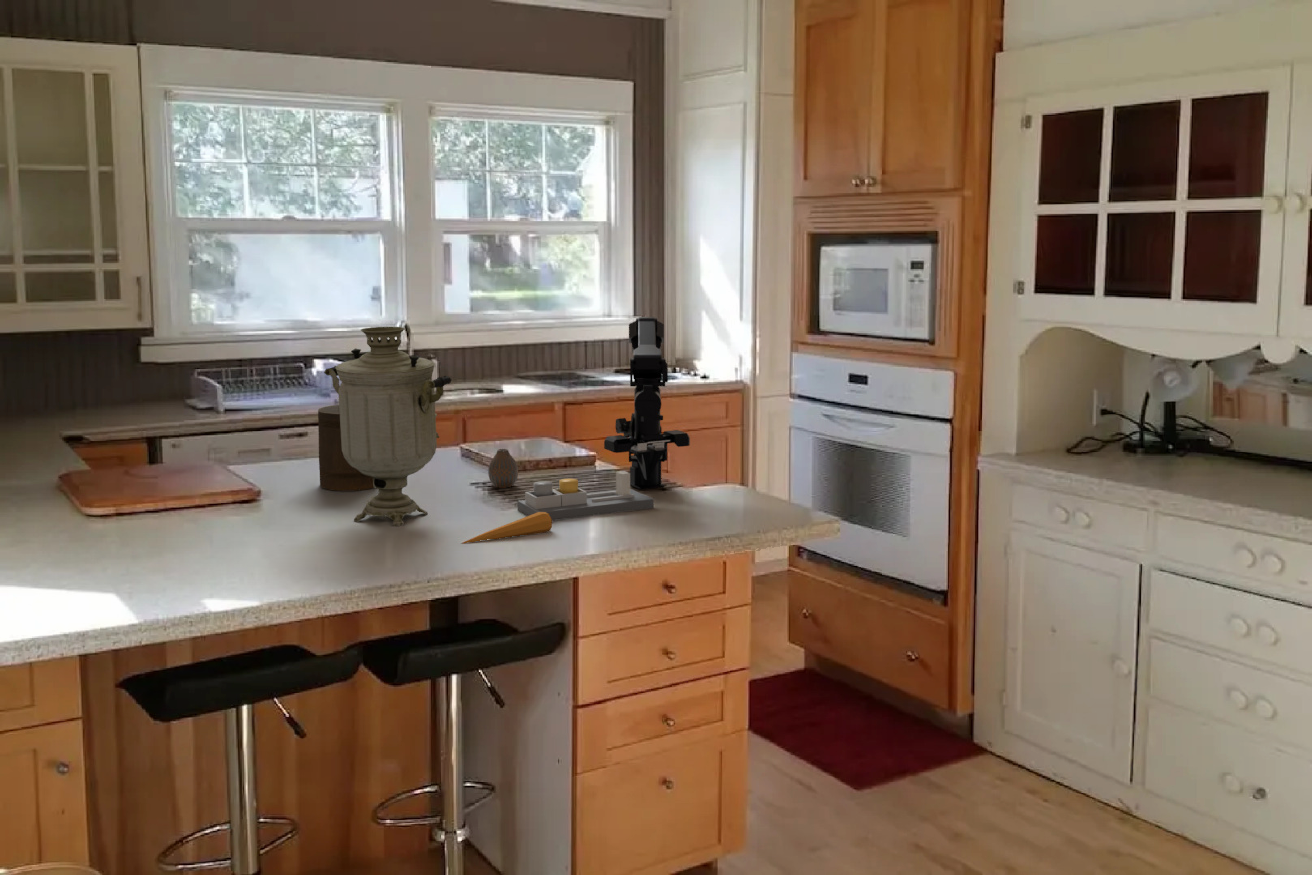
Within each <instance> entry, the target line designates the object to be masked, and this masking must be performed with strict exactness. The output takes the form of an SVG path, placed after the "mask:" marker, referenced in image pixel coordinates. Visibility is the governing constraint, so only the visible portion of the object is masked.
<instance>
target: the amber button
mask: <svg viewBox="0 0 1312 875" xmlns="http://www.w3.org/2000/svg"><path fill="white" fill-rule="evenodd" d="M558 483H559V485H558V486H559V487H558V488H560V493H562V494H568V493H577V492H578V488H579V480H578V479H576V478H562V479H559V482H558Z"/></svg>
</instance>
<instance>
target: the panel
mask: <svg viewBox="0 0 1312 875" xmlns="http://www.w3.org/2000/svg"><path fill="white" fill-rule="evenodd" d="M524 494H525V495H524V496H525V499H521V500H517V511H519V512H521V513H522V514H524V515H526V516H529V515H532V514H535V513H537V512H546V513H548V514H549V515H550V517H551V518H552V521H558V520H565V519H566V520H567V519H574V518H582V517H583V518H584V517H588V516H589V517H590V516H599V515H600V516H601V515H608V514H609V515H610V514H616V513H622V512H623V513H624V512H631V511H640V510H641V511H642V510H647V509H648V510H650V509H654V506H655V503H654V502H655V501H654V500H655V499H654V498H652V497H650V496H648V495H646V494H643V493H641V492H639V491H637V490H634V489H632V488H630V494H629V495H617V494H616V489H612V490H609V489H607V490H600V491H593V492H587V491H586V490H584V489H581V488H579V487H578V492H577V493H568V494H562V493H560V488H559V487H557V488H552V495H550V496H541V497H536V496H534V490H532V491H525V492H524Z"/></svg>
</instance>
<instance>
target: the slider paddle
mask: <svg viewBox="0 0 1312 875" xmlns="http://www.w3.org/2000/svg"><path fill="white" fill-rule="evenodd" d="M630 489H631V485H630V472H628V471H625V470H619V471H615V490H616V494H617V495H629V494H630Z"/></svg>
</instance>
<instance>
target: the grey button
mask: <svg viewBox="0 0 1312 875" xmlns="http://www.w3.org/2000/svg"><path fill="white" fill-rule="evenodd" d="M532 484H533V491H534V496H536V497H541V496H550V495H552V489H553V482H552V481H548V480H547V481H546V480H544V481H541V480H540V481H535V482H533V483H532Z"/></svg>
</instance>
